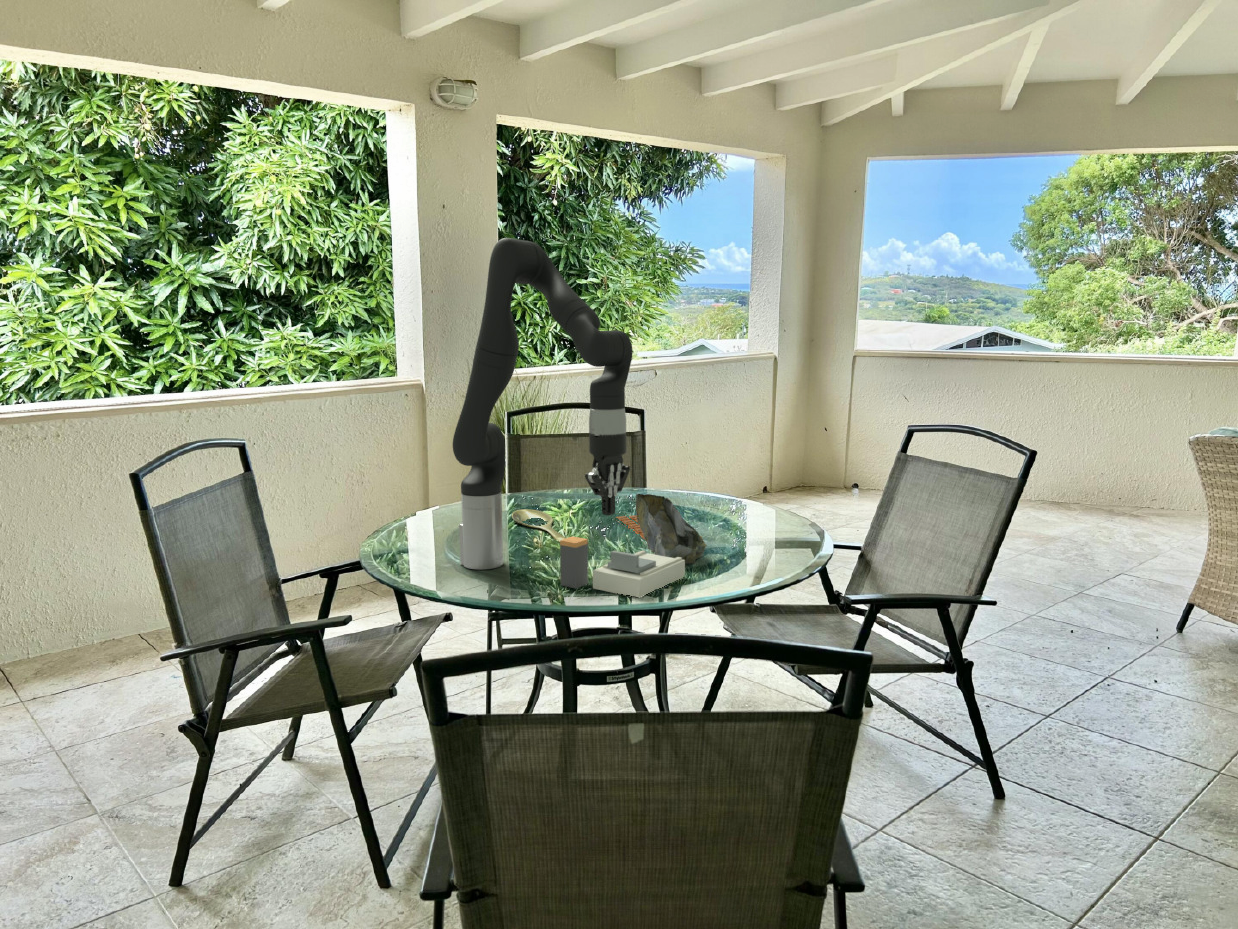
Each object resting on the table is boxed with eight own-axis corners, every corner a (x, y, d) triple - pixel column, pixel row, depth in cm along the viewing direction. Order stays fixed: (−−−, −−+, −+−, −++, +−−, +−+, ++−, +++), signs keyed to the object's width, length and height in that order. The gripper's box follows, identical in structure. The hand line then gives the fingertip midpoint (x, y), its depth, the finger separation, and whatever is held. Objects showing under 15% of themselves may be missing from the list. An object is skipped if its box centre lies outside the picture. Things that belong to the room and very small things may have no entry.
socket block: (592, 588, 194) (592, 568, 194) (639, 568, 209) (639, 549, 208) (639, 598, 188) (639, 577, 187) (684, 577, 202) (684, 557, 201)
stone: (699, 589, 212) (688, 533, 240) (711, 552, 209) (698, 499, 236) (628, 574, 210) (625, 520, 238) (638, 536, 207) (635, 485, 235)
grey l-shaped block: (607, 567, 195) (607, 551, 194) (625, 560, 200) (625, 544, 199) (638, 573, 190) (638, 557, 190) (655, 566, 195) (655, 550, 195)
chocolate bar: (661, 517, 264) (661, 512, 264) (703, 541, 236) (704, 536, 236) (614, 521, 259) (614, 516, 259) (651, 546, 231) (651, 541, 231)
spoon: (586, 548, 234) (586, 540, 234) (548, 553, 230) (548, 545, 229) (539, 513, 265) (539, 506, 265) (504, 516, 261) (504, 509, 260)
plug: (560, 585, 197) (560, 540, 195) (572, 580, 200) (572, 536, 198) (576, 588, 194) (575, 543, 193) (588, 583, 198) (587, 539, 196)
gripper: (611, 425, 191) (612, 506, 194) (572, 432, 180) (574, 518, 183) (641, 428, 186) (641, 510, 189) (603, 435, 176) (604, 523, 179)
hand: (608, 514), depth 186 cm, fingers closed
